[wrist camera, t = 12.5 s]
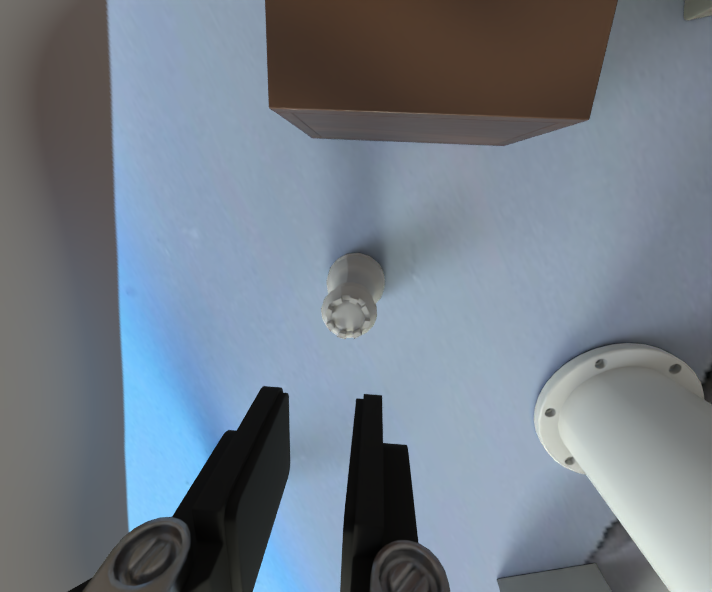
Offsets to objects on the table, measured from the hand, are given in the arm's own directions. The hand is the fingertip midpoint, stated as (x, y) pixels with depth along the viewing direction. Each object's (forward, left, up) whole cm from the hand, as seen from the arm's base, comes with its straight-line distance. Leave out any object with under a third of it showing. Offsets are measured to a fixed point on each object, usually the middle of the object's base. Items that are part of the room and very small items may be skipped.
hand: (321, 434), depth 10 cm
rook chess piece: (0, 0, -17) cm, 17 cm away
